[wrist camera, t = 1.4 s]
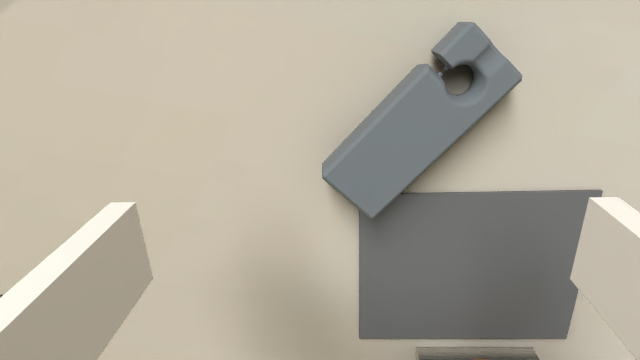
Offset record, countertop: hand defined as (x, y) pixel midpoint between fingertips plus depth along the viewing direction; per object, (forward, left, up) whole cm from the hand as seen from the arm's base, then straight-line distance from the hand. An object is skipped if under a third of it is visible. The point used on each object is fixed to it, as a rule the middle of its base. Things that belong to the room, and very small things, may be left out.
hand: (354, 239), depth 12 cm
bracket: (-1, -1, -13) cm, 13 cm away
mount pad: (+8, -10, -12) cm, 17 cm away
